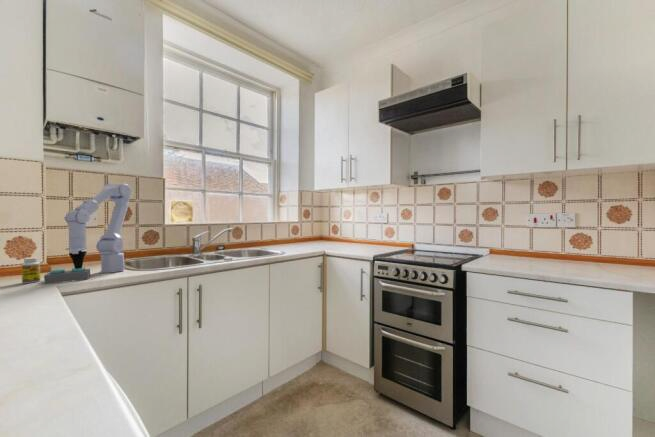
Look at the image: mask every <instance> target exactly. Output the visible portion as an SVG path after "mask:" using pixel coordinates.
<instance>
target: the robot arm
mask: <svg viewBox="0 0 655 437" xmlns="http://www.w3.org/2000/svg"><path fill="white" fill-rule="evenodd" d="M131 194H132V190H131V187H130V186H129V184H128V183H107V184H106V185H104V186H103V187H102V190H101V191H99V192H98V194H96V195H95V196H94V197H93V198H92V199H84V200H83V201H82V203H81V204H80V205H79V206H76V207H75V208H74V210H69V211H68V212H67V213H66V215H65V216H64V218H63V219H64V221H65V222H66V223H67V226H68V241H69V242H68V247H67V248H65V250H66V251H70V253H68V255H69V257H70V258H71V260H72V262H73V266H74V268H75V269H79V268H82V267H83V265H84V260H85V258H86V254H87V252H88V251H85V250H87V249H88V247H87V233H86V232H87V231H86V230H87V229H86V223H88V222H89V219H90V217H91V215H93V213H95V212H96V211H97V210H99V207H100V206H99V205H101V204H102V203H103V202H104V201H106V200H108V199H110V200H111V201H112V202H113V203H115V204H114V208H113V211H112V214H111V218H110V221H109V224H108V227H107V230H106V233H104V234H102V235H101V236H100V239H99V240H98V241H97V243H96V246H95V247H96V251H97V252H99V254H100V271H99V274H107V273H108V274H109V273H116V272H124V271H125V267H126V264H125V254H124V252H121V251H122V249H123V247H124V245H123V244H124V243H123V242H124V239H123V237H122V236H121V231H122V228H123V226H124V225H123V224H124V222H125V218H126V215H127V211H128V208H129V204H130V197H131Z"/></svg>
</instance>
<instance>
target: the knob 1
mask: <svg viewBox="0 0 655 437" xmlns="http://www.w3.org/2000/svg"><path fill="white" fill-rule="evenodd" d="M65 271H66V270H65V268H60V269H59V268H58V269H51V270H50V274H59V273H64V272H65Z"/></svg>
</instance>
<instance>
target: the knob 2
mask: <svg viewBox="0 0 655 437" xmlns="http://www.w3.org/2000/svg"><path fill="white" fill-rule="evenodd" d="M85 269H86V267H84V266H82V268H79V269H75V267H74V268H71V270H72V272H81V271H85Z"/></svg>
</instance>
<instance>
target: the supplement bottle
mask: <svg viewBox="0 0 655 437" xmlns="http://www.w3.org/2000/svg"><path fill="white" fill-rule="evenodd" d="M40 281H41V262H39V261H38V257H35V256H34V257H25V258H24V259H23V263H22V264H21V282H22V284H33V283H38V282H40Z"/></svg>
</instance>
